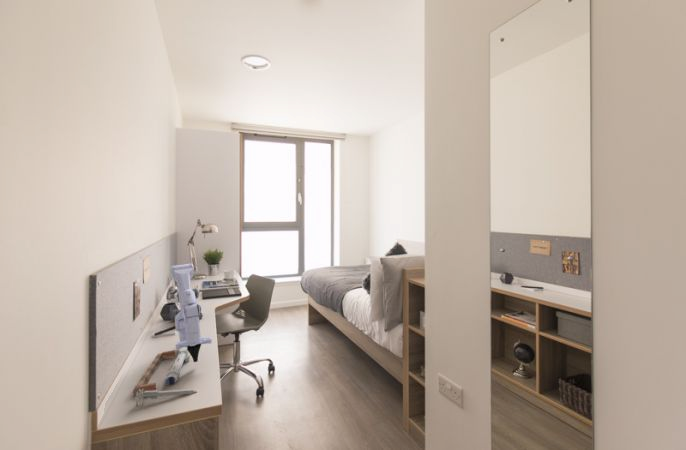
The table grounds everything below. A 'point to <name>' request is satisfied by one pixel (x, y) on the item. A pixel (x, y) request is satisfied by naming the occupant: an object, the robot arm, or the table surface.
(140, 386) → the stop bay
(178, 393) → the caliper
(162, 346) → the table surface
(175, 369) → the white tube
